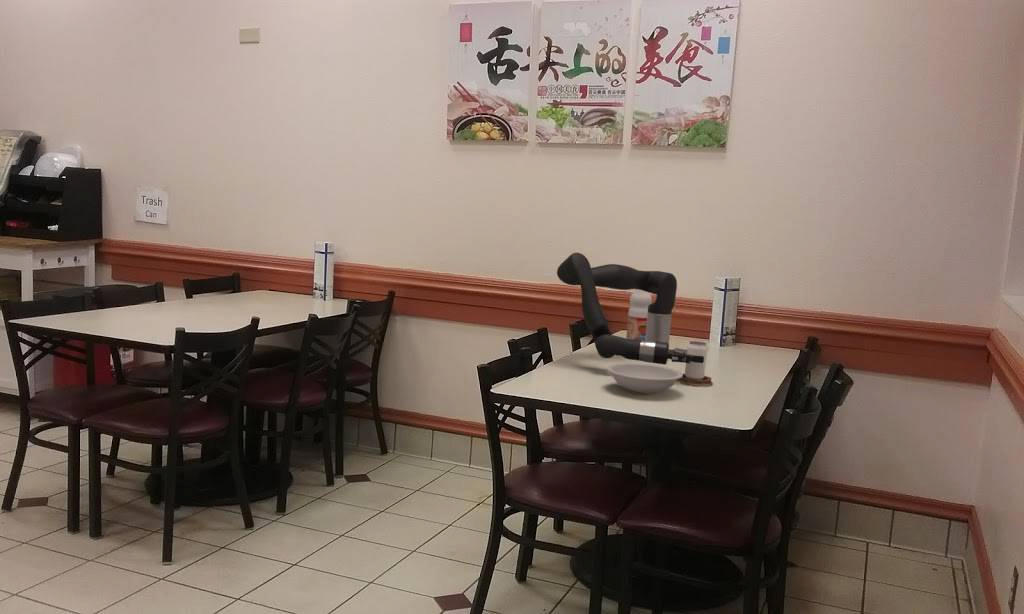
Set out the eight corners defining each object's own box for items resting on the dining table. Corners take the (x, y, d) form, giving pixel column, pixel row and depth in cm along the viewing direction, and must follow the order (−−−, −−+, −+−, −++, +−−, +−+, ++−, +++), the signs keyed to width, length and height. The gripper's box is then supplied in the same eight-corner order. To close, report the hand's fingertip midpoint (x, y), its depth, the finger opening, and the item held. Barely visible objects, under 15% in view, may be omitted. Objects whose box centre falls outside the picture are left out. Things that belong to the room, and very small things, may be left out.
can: (704, 380, 281) (707, 345, 279) (684, 378, 282) (688, 343, 280) (703, 376, 287) (707, 342, 286) (684, 374, 288) (688, 340, 287)
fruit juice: (631, 341, 359) (637, 276, 356) (651, 344, 354) (657, 279, 351) (622, 344, 352) (627, 277, 348) (642, 347, 347) (648, 280, 343)
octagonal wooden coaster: (677, 376, 292) (678, 371, 292) (712, 381, 289) (713, 375, 289) (675, 383, 281) (675, 378, 280) (711, 388, 278) (712, 382, 277)
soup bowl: (602, 380, 280) (603, 360, 279) (674, 384, 279) (676, 365, 278) (608, 397, 256) (610, 376, 255) (687, 402, 255) (689, 381, 255)
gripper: (652, 344, 280) (704, 350, 276) (656, 338, 294) (706, 344, 289) (650, 366, 281) (702, 373, 277) (654, 359, 295) (703, 365, 290)
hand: (703, 358), depth 283 cm, fingers closed on can, 5 cm apart
